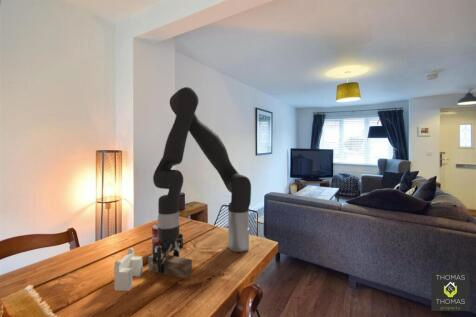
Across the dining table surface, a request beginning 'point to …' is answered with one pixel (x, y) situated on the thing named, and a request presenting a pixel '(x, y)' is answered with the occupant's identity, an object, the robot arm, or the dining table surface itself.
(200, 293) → the dining table surface
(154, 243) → the soda can
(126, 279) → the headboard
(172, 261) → the rail
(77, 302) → the dining table surface
